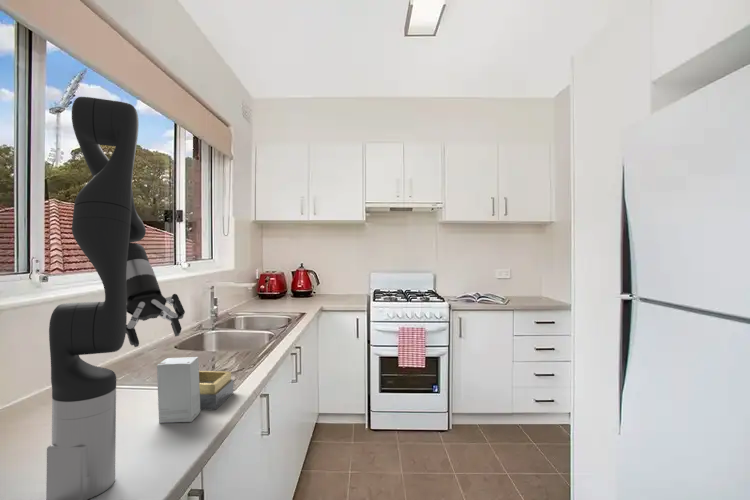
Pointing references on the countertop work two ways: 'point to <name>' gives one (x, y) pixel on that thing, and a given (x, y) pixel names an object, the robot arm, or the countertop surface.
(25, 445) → the countertop surface
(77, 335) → the robot arm
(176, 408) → the skincare box
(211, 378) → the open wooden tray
